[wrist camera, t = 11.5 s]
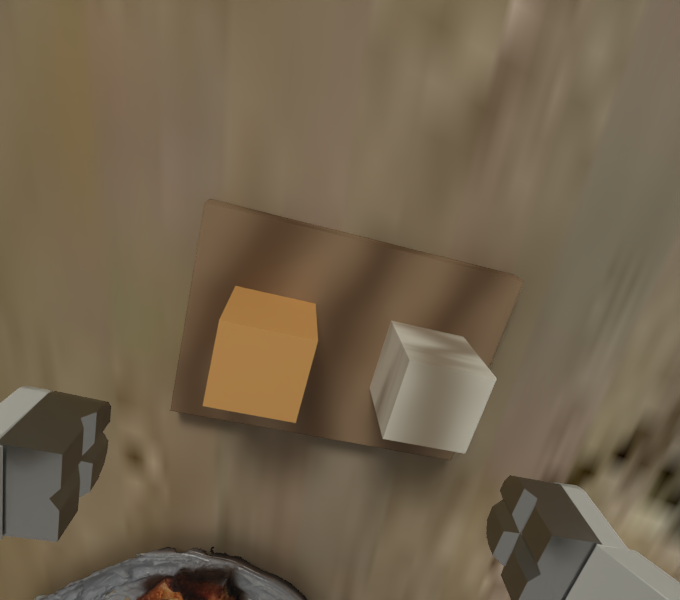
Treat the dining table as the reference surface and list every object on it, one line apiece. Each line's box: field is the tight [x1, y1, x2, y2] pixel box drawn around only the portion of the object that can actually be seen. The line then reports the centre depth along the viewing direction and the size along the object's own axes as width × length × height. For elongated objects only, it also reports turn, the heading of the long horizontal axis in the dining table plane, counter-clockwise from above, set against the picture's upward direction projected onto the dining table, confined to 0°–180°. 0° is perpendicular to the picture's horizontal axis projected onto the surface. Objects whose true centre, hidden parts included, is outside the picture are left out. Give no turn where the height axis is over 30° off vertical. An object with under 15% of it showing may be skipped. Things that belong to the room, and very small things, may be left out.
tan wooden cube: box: [203, 286, 318, 423], centre depth 26 cm, size 5×5×6 cm
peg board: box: [170, 199, 524, 460], centre depth 27 cm, size 20×14×7 cm
